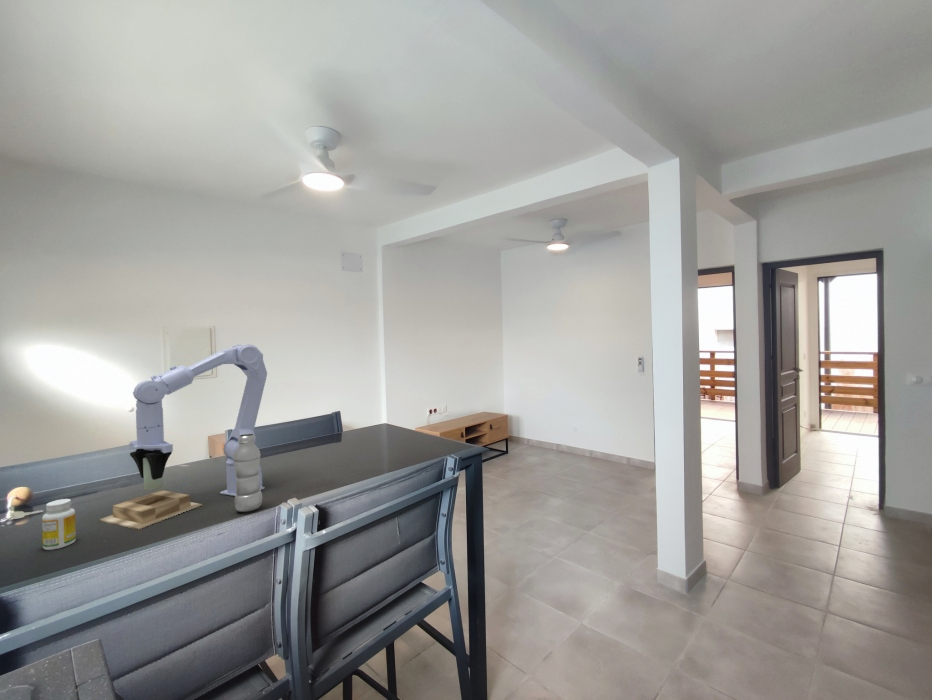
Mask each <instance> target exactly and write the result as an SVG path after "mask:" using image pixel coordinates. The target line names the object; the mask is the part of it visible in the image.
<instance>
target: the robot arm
mask: <svg viewBox="0 0 932 700" xmlns="http://www.w3.org/2000/svg"><path fill="white" fill-rule="evenodd" d="M223 365H233V366H236V367H237V368H238V369H240V370H241V371H242V372H243V373H244V375H245V376H246V382H245V386H244V389H243V394H242V397H241V402H240V406H239V410H238V414H237V417H236V422H235V425H234V429H233V430H231V432H230V436H229V437H228V439H227V441H226V442H225V443H224V445H223V453H224V456H226V457H227V460H226V462H225V463H226V464H225V467H226V468H225V469H226V489H225V490H222V491H220V492H219V494H221V495H226V496H232V497H233V496H234V497H235V495H236V484H237V480H236V478H237V477H236V470H235V465H234V461H233V455H234V452H235V451H236V449H237V448H238V447H239V445H240V443H238V441H239V435H243V434H254V439H255V441H254V444H255V443H256V435H255V427H256V423H257V422H256V421H257V418H258V415H259V410H260V407H261V402H262V398H263V395H264V394H263V393H264V388H265V385H266V382H267V376H268V371H267V368H266V365H265V361H264V354H263V352H261V350H260V349H259V348H258V347H257V346H255V345H254V344H244V345H243V344H236V345H233V346H231V347H227V348H224V349H222V350H219V351H216V352H215V353H213V354H211V355H209V356H207V357H205V358H203V359H201V360H199V361H197V362H195V363H193V364H191V365H189V366H184V365H178V366H176V365H172V366H170V367H169V370H167V371H164V372H163V373H160V374H158V375H157V376H156V375H155V374H154V375H152V376H150V378H151V380H144V381H141V382H139V383H137V385H136V386H135V387H134V389H133V391H132V395H133V397H134V399H135V401H136V403H135V406H136V407H135V408H136V409H135V423H136V427H135V428H136V440H132V441H129V449H130V450H135V451H132V452H130V453H129V456H130V457H131V458H132V459H133V460H134V462H135V464H136V466H137V469H138V473H139V475H140V477H141V479H144V475H143V458H145V457H146V458H147V460H148V462H149V465H150V470H151V476H152V479H153V480H155V479H159V478H162V479H163V475H164V474H165V473H164V472H165V468H166V465H167V462H168V461H169V458H170V456H171V455H172V453H173V451H174V448H173V446H174V444H173V443H170V442H167V441H166V440H165V436H164V435H165V431H164V430H165V429H164V427H165V426H164V409H163V399H164V398H165V396H166V395H167V396H168V395H171V394H173V393H175V392H177V391H179V390H180V389H183V388H185V387H187V386H190V385H192V383H193V381H194V379H195V377H197V376H200V375H201V374H204V373H206V372H209V371H211V370H213V369H215V368H218V367H219V366H223ZM255 445H256V444H255ZM262 469H263V468H262V466H261V464H259V483H260V490H261V491H262V490H265V486H263V471H262Z"/></svg>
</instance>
